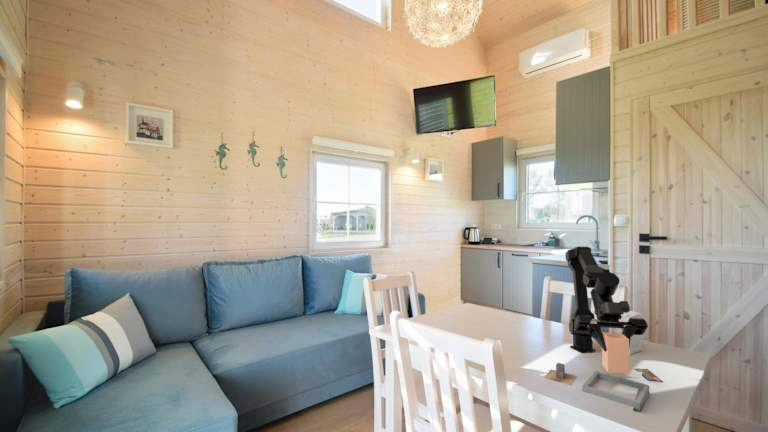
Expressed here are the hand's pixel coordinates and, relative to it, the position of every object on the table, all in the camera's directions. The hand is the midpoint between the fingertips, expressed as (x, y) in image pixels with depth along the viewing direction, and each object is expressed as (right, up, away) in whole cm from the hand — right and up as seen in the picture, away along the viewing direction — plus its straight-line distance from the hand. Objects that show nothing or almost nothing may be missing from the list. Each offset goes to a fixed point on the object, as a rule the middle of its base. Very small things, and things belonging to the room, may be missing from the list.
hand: (616, 351), depth 104 cm
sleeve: (0, -6, +1) cm, 6 cm away
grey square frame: (+1, -13, +1) cm, 13 cm away
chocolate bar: (+19, -13, +13) cm, 27 cm away
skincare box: (+27, -13, +34) cm, 45 cm away
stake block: (-11, -13, +11) cm, 20 cm away
